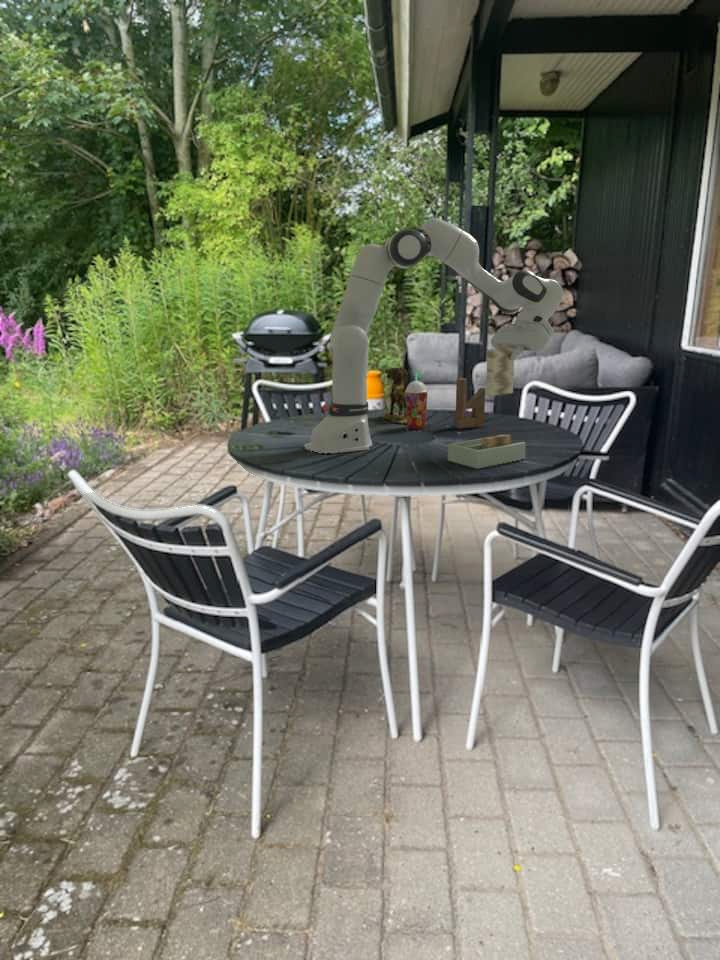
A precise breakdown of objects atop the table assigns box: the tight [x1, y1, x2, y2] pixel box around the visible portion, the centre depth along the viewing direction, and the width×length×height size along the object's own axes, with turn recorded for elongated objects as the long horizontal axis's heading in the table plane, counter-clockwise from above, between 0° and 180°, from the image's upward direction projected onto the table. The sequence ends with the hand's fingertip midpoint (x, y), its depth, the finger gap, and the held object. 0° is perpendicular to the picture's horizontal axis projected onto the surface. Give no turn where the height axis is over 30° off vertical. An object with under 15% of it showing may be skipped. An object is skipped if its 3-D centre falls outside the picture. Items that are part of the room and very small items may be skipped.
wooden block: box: [453, 377, 486, 430], centre depth 255 cm, size 4×11×18 cm, turn 109°
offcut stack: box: [481, 434, 512, 449], centre depth 204 cm, size 10×4×8 cm, turn 124°
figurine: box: [379, 367, 409, 426], centre depth 273 cm, size 13×25×20 cm, turn 9°
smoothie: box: [405, 372, 429, 430], centre depth 255 cm, size 8×8×20 cm
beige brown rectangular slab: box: [485, 348, 515, 397], centre depth 218 cm, size 9×3×14 cm, turn 124°
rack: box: [447, 437, 527, 470], centre depth 206 cm, size 19×13×5 cm, turn 124°
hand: (506, 358), depth 219 cm, fingers closed on beige brown rectangular slab, 3 cm apart
